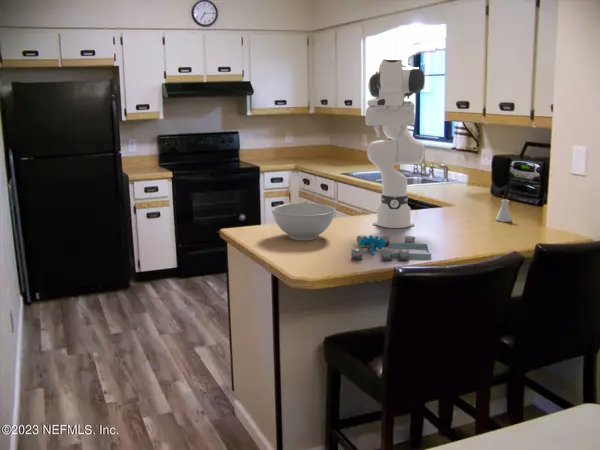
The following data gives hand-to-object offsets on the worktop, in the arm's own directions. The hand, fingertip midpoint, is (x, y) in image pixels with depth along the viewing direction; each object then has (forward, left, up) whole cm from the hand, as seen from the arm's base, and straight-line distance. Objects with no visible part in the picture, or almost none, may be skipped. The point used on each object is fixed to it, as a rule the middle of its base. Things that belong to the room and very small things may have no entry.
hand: (389, 137), depth 241 cm
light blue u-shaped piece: (+13, +9, -43) cm, 46 cm away
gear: (+14, -6, -43) cm, 46 cm away
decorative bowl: (-7, -35, -43) cm, 56 cm away
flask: (-52, +55, -43) cm, 87 cm away
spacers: (+13, -1, -43) cm, 45 cm away
